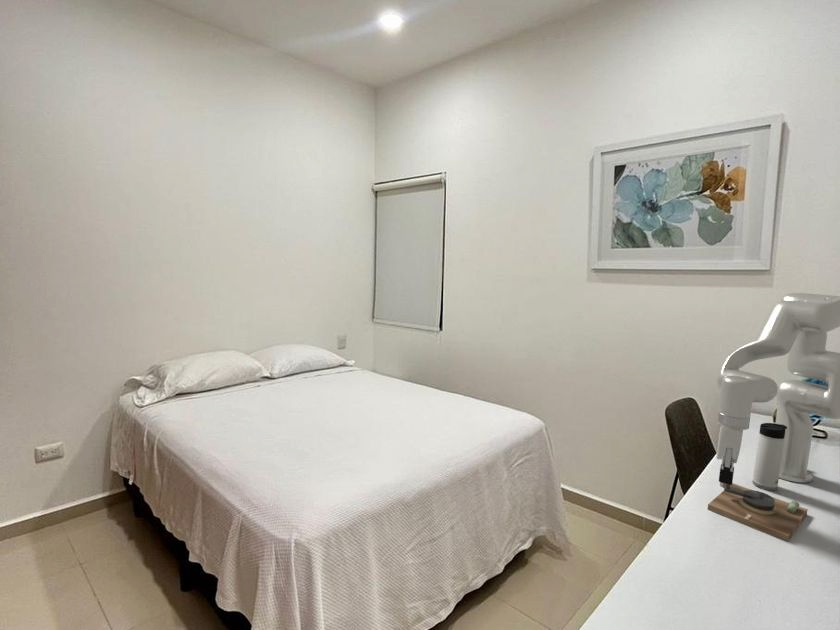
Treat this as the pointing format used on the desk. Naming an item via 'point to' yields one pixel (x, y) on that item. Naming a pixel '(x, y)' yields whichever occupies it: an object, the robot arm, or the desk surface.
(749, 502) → the grey rounded piece
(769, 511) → the base
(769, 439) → the travel mug
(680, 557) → the desk surface
